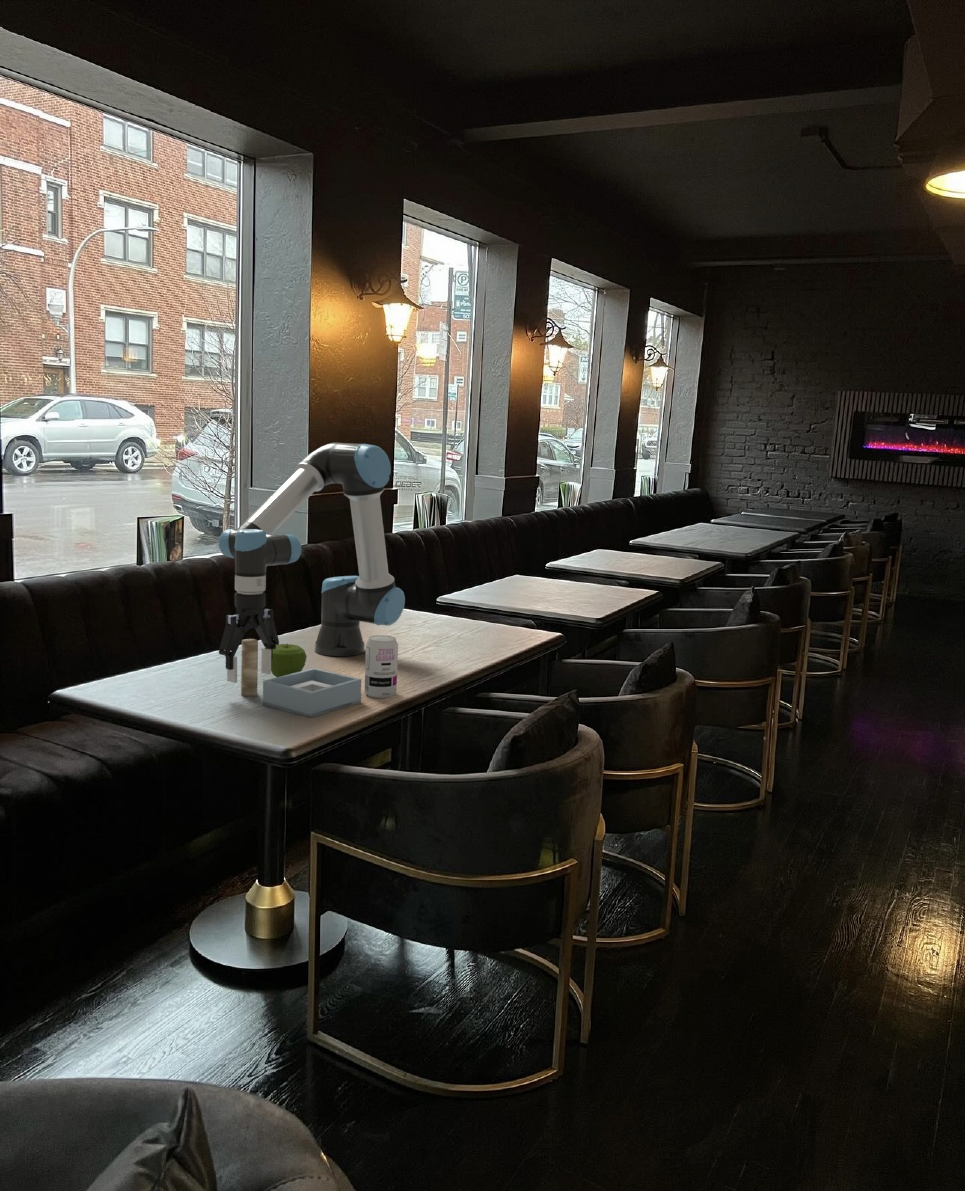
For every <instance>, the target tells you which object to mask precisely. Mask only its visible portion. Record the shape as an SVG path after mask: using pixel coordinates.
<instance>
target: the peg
mask: <svg viewBox="0 0 965 1191" xmlns="http://www.w3.org/2000/svg"><path fill="white" fill-rule="evenodd" d="M258 656H259V641H258V639H255V638H246V639H245V638H244V639H242V640H241V660H240V661H241V666H240V667H241V668H240V669H241V670H240V671H241V673H240V674H241V676H240V677H241V678H240V680H241V681H240V682H241V683H240V684H241V686H240V688H241V689H240V695H241V696H242V697H247V698H248V697H249V698H250V697H256V696H258V680H259V679H258V676H259V673H258V669H259V668H258V666H259V664H258V663H259V661H258V660H259V659H258V658H259V657H258Z"/></svg>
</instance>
